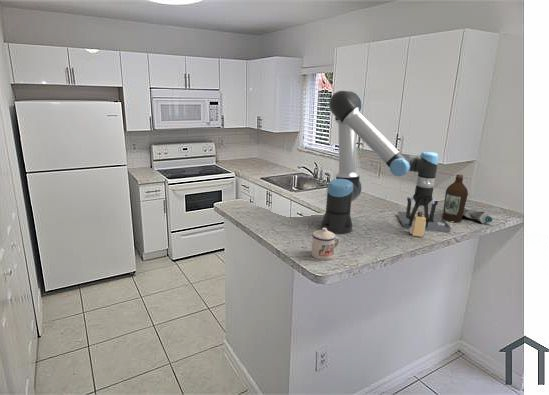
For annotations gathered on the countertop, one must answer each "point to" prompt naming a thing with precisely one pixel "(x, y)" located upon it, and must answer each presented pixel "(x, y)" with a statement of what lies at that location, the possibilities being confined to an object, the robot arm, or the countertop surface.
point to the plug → (419, 224)
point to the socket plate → (434, 225)
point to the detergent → (477, 215)
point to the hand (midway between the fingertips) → (416, 233)
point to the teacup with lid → (323, 244)
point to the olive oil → (455, 200)
